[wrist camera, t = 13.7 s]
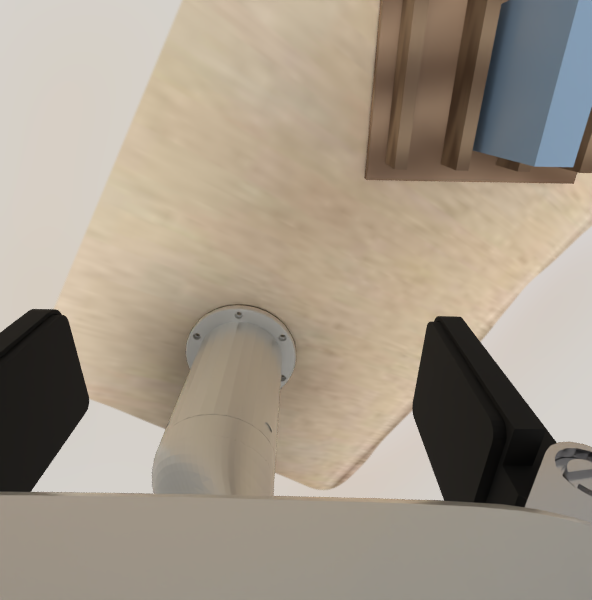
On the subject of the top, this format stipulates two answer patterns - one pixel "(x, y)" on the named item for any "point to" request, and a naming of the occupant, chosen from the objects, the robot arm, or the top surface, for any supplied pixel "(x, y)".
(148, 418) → the top surface
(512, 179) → the rack
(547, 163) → the tile
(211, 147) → the top surface
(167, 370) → the top surface
